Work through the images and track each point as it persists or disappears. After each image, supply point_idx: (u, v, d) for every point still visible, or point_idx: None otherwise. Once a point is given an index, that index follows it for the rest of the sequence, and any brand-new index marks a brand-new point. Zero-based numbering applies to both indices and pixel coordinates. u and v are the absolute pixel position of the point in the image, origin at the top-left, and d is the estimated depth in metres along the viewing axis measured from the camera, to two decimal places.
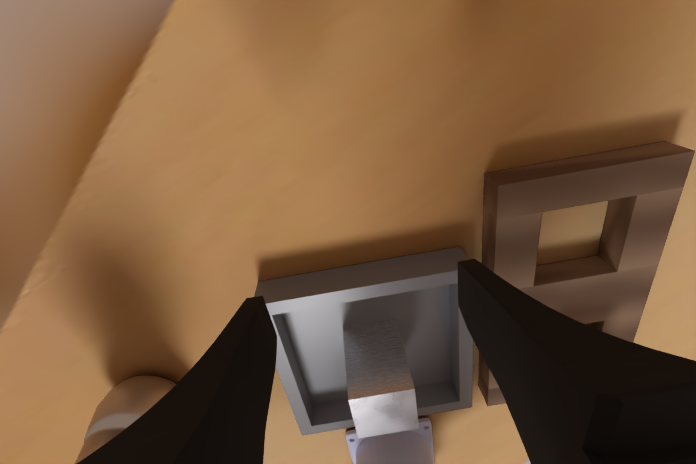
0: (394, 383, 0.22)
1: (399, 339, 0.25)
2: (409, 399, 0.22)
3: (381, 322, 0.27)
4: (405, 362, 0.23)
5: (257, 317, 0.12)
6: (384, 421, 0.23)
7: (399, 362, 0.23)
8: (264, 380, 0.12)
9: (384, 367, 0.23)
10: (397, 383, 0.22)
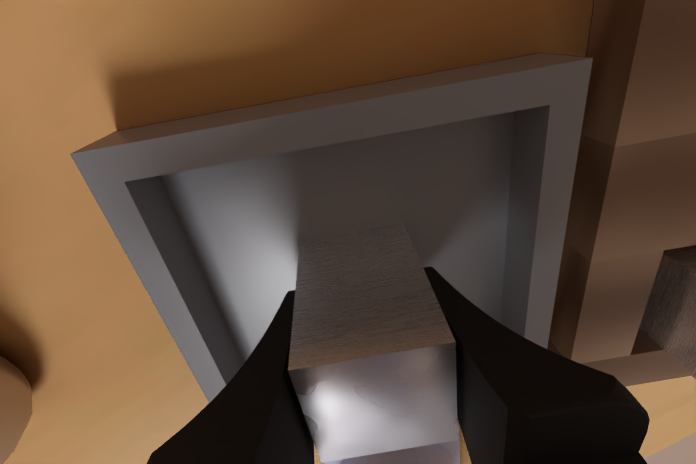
0: (403, 331, 0.09)
1: (412, 252, 0.12)
2: (441, 370, 0.09)
3: (375, 230, 0.14)
4: (427, 290, 0.10)
5: None
6: (380, 425, 0.10)
7: (415, 290, 0.10)
8: None
9: (379, 301, 0.10)
10: (412, 331, 0.09)
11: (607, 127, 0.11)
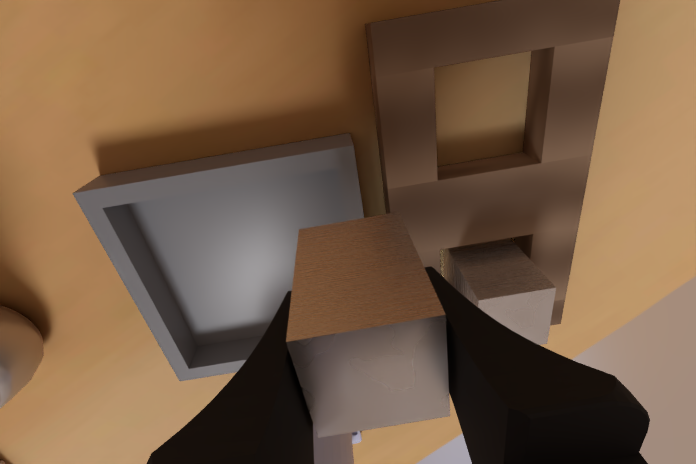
0: (396, 306, 0.09)
1: (406, 237, 0.12)
2: (432, 343, 0.09)
3: (371, 218, 0.14)
4: (420, 270, 0.11)
5: None
6: (375, 399, 0.10)
7: (408, 270, 0.11)
8: None
9: (373, 281, 0.11)
10: (404, 305, 0.09)
11: (385, 177, 0.20)
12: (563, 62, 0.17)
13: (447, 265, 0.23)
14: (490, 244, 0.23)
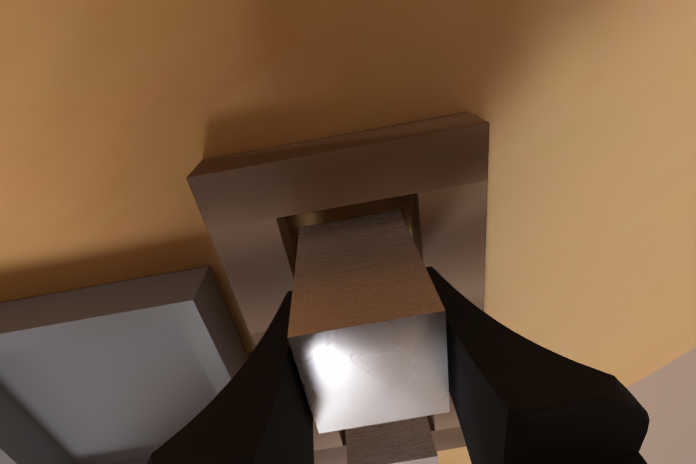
0: (396, 303, 0.10)
1: (406, 235, 0.12)
2: (432, 339, 0.09)
3: (372, 216, 0.14)
4: (420, 267, 0.11)
5: None
6: (375, 395, 0.10)
7: (408, 268, 0.11)
8: None
9: (374, 278, 0.11)
10: (405, 302, 0.09)
11: None
12: (432, 207, 0.14)
13: None
14: None
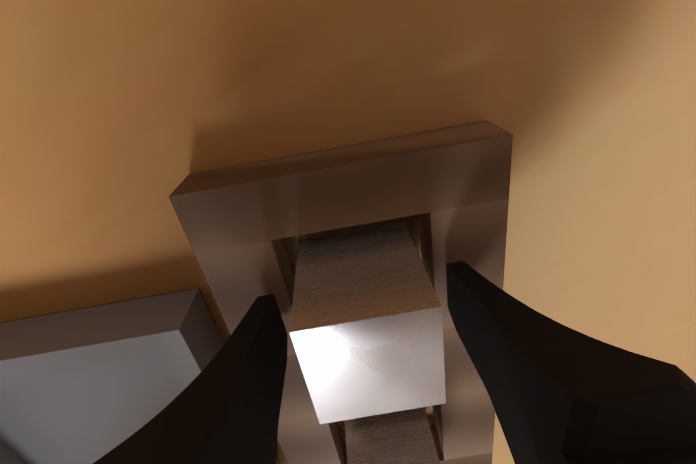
0: (394, 298, 0.10)
1: (404, 232, 0.13)
2: (429, 333, 0.10)
3: None
4: (418, 264, 0.11)
5: (269, 315, 0.12)
6: (374, 387, 0.11)
7: (406, 264, 0.11)
8: (276, 378, 0.12)
9: (373, 274, 0.11)
10: (403, 298, 0.10)
11: None
12: (445, 228, 0.13)
13: None
14: None
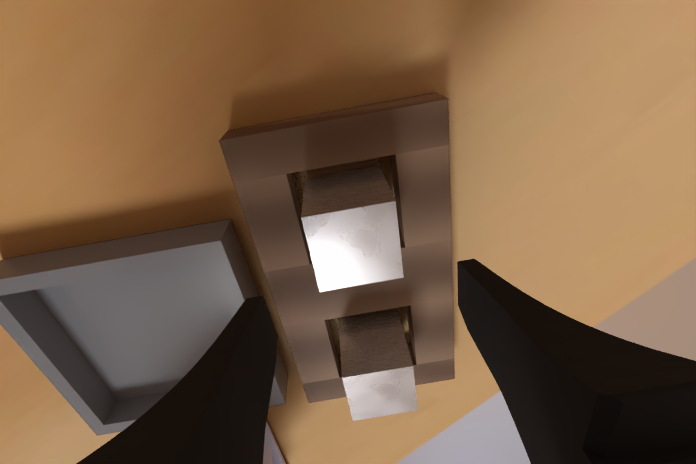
0: (367, 199, 0.16)
1: (378, 169, 0.18)
2: (389, 221, 0.15)
3: (356, 161, 0.20)
4: (384, 183, 0.17)
5: (257, 317, 0.12)
6: (355, 262, 0.16)
7: (377, 184, 0.17)
8: (264, 380, 0.12)
9: (355, 190, 0.17)
10: (372, 199, 0.15)
11: None
12: (406, 166, 0.18)
13: None
14: (376, 311, 0.24)
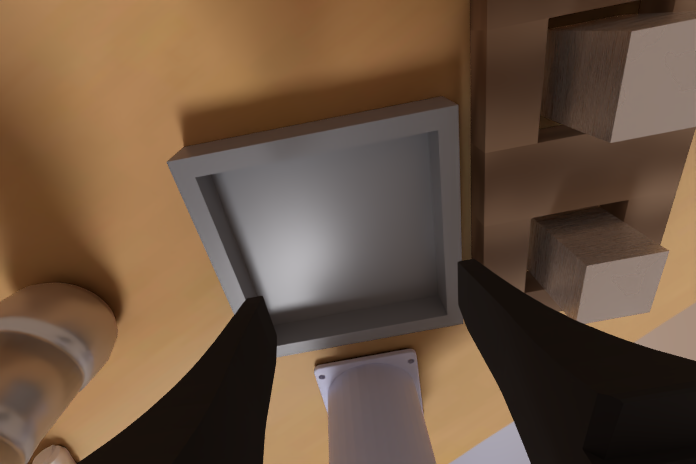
0: None
1: (651, 13, 0.16)
2: None
3: (600, 19, 0.18)
4: (691, 11, 0.14)
5: (257, 317, 0.12)
6: (666, 100, 0.14)
7: (681, 13, 0.14)
8: (264, 380, 0.12)
9: (658, 18, 0.14)
10: None
11: (481, 141, 0.19)
12: (684, 9, 0.16)
13: (531, 236, 0.23)
14: (579, 212, 0.22)
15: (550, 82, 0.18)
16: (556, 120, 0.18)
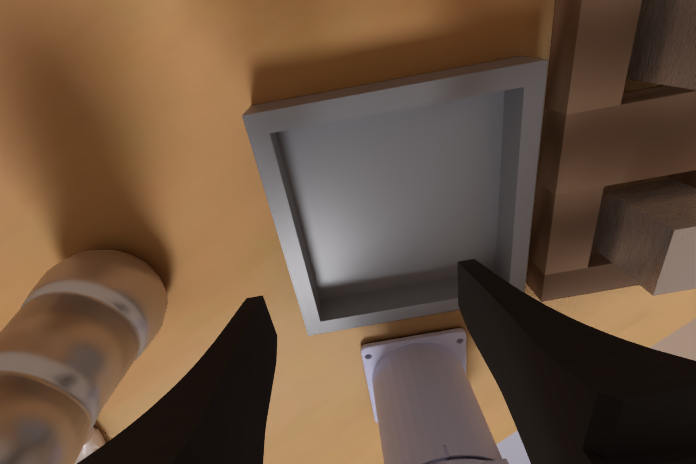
0: None
1: None
2: None
3: None
4: None
5: (257, 317, 0.12)
6: None
7: None
8: (264, 380, 0.12)
9: None
10: None
11: (562, 102, 0.18)
12: None
13: None
14: (650, 183, 0.21)
15: (637, 40, 0.17)
16: (643, 80, 0.17)
